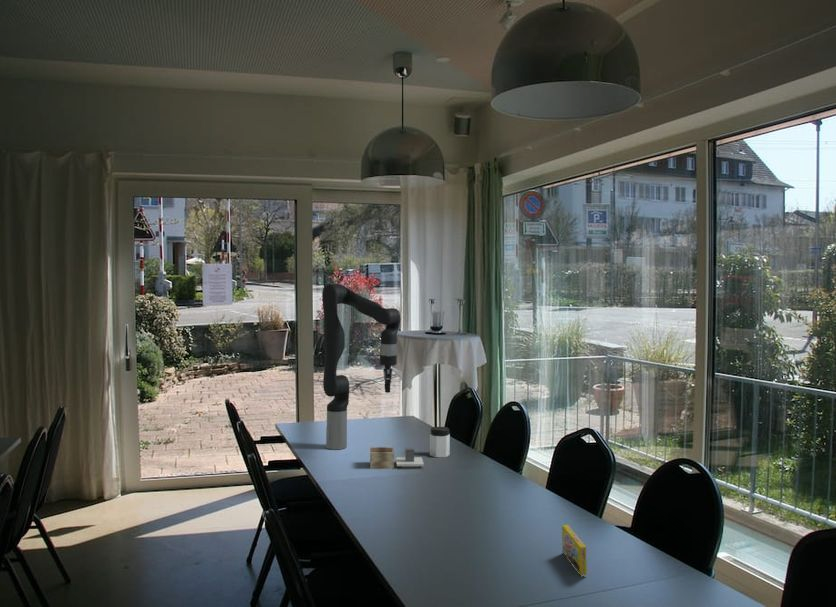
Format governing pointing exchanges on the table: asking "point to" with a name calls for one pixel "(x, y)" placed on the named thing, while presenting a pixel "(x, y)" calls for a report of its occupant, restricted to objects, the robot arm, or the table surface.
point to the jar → (439, 442)
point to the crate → (381, 457)
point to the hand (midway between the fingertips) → (387, 390)
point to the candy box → (574, 549)
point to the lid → (409, 459)
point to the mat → (410, 467)
